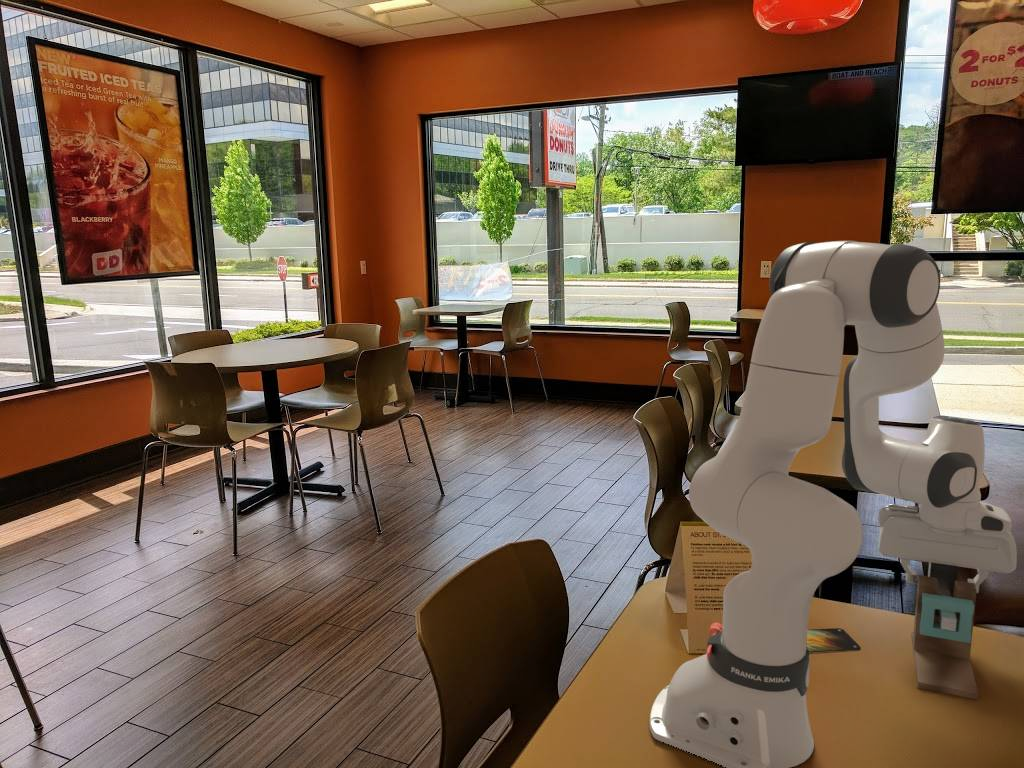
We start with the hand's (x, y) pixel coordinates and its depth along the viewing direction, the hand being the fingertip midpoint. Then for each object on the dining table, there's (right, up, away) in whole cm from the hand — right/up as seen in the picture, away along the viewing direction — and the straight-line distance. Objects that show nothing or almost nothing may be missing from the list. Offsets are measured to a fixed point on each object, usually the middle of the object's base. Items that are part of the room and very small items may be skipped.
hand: (941, 586), depth 126 cm
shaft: (-2, -4, -4) cm, 6 cm away
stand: (-4, -11, -7) cm, 14 cm away
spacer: (-4, -6, -7) cm, 10 cm away
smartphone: (-22, -11, +2) cm, 24 cm away
